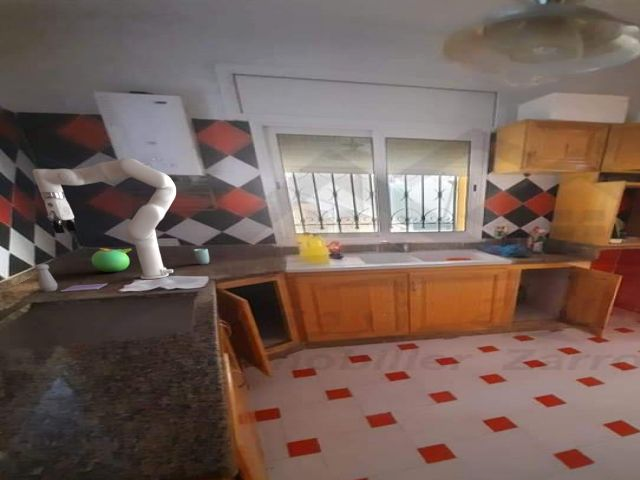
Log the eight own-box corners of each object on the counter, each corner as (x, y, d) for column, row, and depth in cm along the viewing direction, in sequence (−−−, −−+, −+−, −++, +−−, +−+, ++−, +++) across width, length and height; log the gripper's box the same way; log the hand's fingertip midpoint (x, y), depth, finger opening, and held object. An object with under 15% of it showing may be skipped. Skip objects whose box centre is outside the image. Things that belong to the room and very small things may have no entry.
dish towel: (107, 284, 166) (107, 283, 166) (97, 289, 158) (96, 288, 157) (73, 286, 162) (72, 285, 162) (60, 292, 153) (59, 291, 153)
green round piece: (90, 273, 188) (82, 248, 184) (125, 267, 203) (118, 244, 198) (104, 276, 181) (96, 251, 176) (140, 270, 195) (133, 246, 191)
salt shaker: (47, 292, 152) (37, 266, 148) (38, 291, 153) (28, 265, 149) (62, 289, 157) (53, 263, 153) (53, 288, 159) (44, 262, 154)
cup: (212, 263, 215) (209, 249, 212) (200, 265, 209) (196, 250, 206) (207, 262, 219) (204, 248, 216) (194, 264, 213) (191, 249, 210)
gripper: (52, 196, 147) (66, 233, 152) (74, 195, 162) (86, 229, 167) (30, 196, 144) (45, 234, 150) (54, 196, 159) (67, 230, 165)
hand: (66, 231), depth 159 cm, fingers open, 9 cm apart
